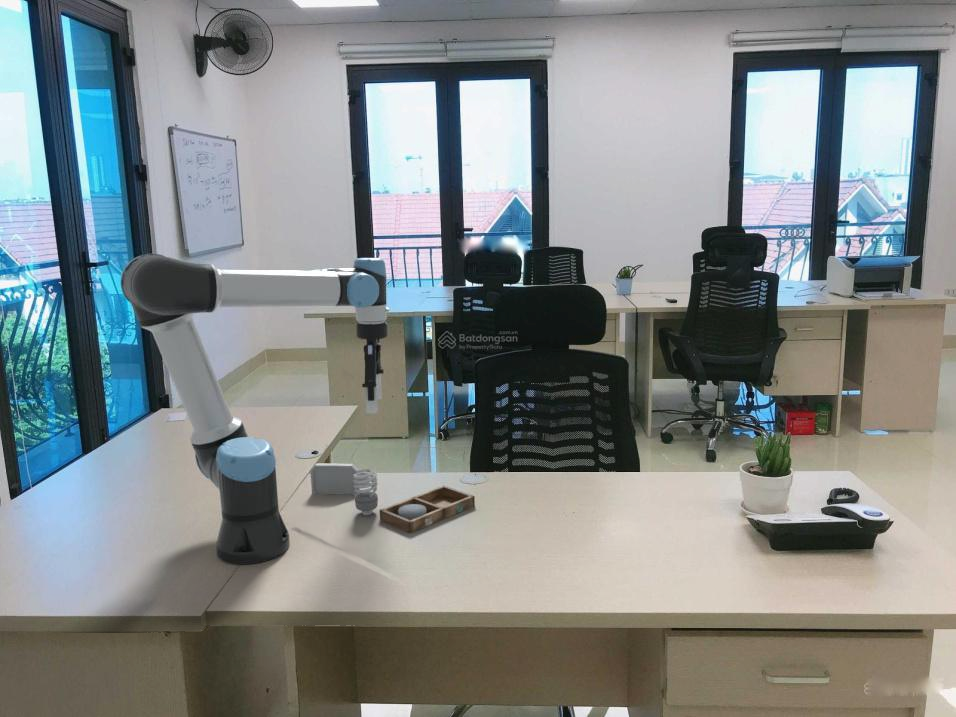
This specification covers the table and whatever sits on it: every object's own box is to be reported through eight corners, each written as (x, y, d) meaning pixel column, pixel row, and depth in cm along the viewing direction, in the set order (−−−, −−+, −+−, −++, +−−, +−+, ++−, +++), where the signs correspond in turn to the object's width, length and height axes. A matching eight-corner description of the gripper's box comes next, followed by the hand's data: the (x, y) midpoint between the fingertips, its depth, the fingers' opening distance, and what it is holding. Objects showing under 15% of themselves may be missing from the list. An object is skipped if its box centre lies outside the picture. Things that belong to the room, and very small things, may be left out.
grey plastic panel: (357, 495, 196) (356, 465, 194) (311, 494, 197) (309, 465, 195) (359, 492, 198) (357, 463, 196) (313, 491, 199) (311, 462, 197)
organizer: (411, 537, 170) (410, 522, 170) (380, 524, 178) (379, 509, 177) (475, 509, 185) (475, 496, 184) (444, 498, 192) (443, 485, 191)
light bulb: (350, 519, 181) (347, 470, 179) (364, 510, 186) (362, 463, 183) (370, 523, 178) (367, 474, 176) (384, 514, 183) (381, 466, 181)
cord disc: (411, 527, 173) (411, 517, 173) (393, 519, 178) (392, 510, 177) (432, 518, 178) (432, 508, 177) (413, 511, 182) (413, 501, 182)
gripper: (383, 329, 177) (385, 419, 181) (390, 314, 201) (392, 393, 205) (350, 329, 176) (353, 419, 180) (361, 314, 201) (363, 394, 205)
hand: (374, 406), depth 193 cm, fingers open, 13 cm apart
